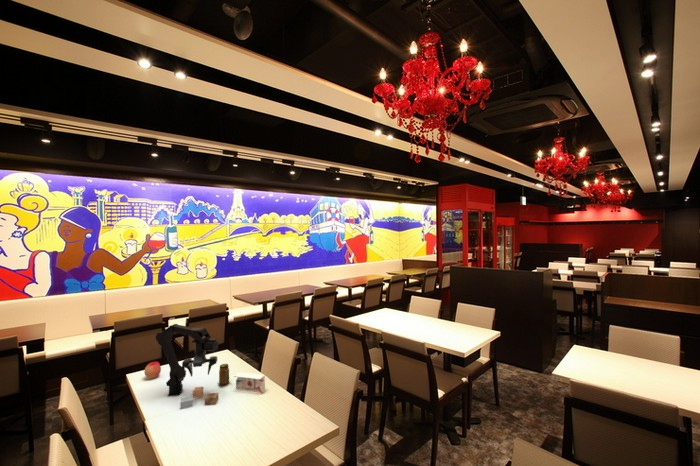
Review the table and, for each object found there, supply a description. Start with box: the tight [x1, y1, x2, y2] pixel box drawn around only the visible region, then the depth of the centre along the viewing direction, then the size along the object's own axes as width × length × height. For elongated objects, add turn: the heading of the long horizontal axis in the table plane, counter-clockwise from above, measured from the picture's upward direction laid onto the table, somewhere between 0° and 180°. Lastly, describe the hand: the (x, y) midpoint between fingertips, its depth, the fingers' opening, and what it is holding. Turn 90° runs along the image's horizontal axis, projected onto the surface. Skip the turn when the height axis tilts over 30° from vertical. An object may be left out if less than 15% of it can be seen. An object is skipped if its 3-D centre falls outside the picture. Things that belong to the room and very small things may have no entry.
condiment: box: [216, 363, 233, 388], centre depth 201 cm, size 7×8×12 cm
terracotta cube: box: [192, 386, 204, 399], centre depth 186 cm, size 4×4×4 cm
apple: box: [143, 361, 162, 380], centre depth 212 cm, size 10×10×10 cm
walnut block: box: [204, 392, 219, 406], centre depth 179 cm, size 6×6×4 cm
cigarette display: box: [233, 371, 266, 395], centre depth 192 cm, size 20×6×9 cm, turn 76°
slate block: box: [179, 394, 194, 410], centre depth 176 cm, size 6×6×4 cm
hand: (200, 375), depth 187 cm, fingers open, 9 cm apart
